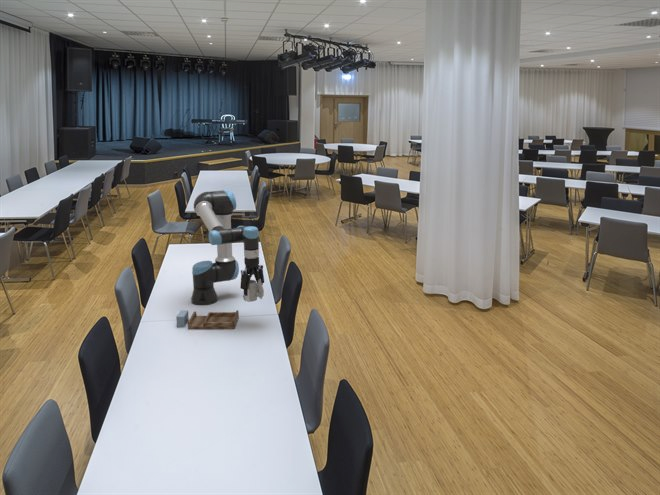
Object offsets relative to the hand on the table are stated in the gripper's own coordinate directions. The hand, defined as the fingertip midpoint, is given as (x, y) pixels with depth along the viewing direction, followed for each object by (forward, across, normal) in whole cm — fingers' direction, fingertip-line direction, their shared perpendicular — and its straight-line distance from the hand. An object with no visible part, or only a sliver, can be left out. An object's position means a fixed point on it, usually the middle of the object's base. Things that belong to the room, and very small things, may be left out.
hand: (253, 298), depth 287 cm
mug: (+1, +1, 0) cm, 1 cm away
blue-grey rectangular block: (+15, -24, +29) cm, 40 cm away
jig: (+14, -13, +17) cm, 26 cm away
